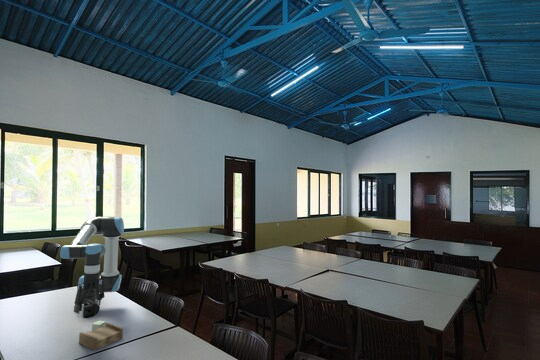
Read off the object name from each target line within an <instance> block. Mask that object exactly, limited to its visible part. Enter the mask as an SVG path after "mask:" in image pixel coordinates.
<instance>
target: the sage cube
mask: <svg viewBox="0 0 540 360" xmlns="http://www.w3.org/2000/svg"><path fill="white" fill-rule="evenodd" d="M106 323H107V321H105V320H98V321H95V322H93V323H92V324H91V331H93V330H95V329H98V328H101V327H103V326H106Z"/></svg>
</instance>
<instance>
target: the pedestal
mask: <svg viewBox="0 0 540 360" xmlns="http://www.w3.org/2000/svg"><path fill="white" fill-rule="evenodd" d="M123 331H124V327H121V326H118V325H115V324H113V323H110V322H106V326H103V327H101V328H98V329H95V330H93V331H92V330H91V331H88V332H83V331H81V332H79V337H78V338H79V339H78V344H80V345H83V346H85V347H87V348H89V349H91V350H93V351H96V350H98V349H100V348H103V347H105V346H108V345H110V344H112V343H114V342H117V341H119V340H121V339H123V334H124V332H123Z"/></svg>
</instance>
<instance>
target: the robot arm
mask: <svg viewBox="0 0 540 360" xmlns="http://www.w3.org/2000/svg"><path fill="white" fill-rule="evenodd" d="M124 232H125V224H124V219H123V218H122V217H120V216H96V217H92V218H90V219H88V220H86V221H85V222H84V223H83V224H82V225H81V226H80V231H78V233H77V234H76V236H75V237H74V239H73V240H72V241H71V242H70V243H69V245H68V244H67V245H65V244H64V245H62V246H61V249H60V252H59V254H60V255H59V256H60V258H61V259H64V260H65V259H68V260H72V259H73V260H74V259H75V260H76V259H84V274H83V275H81V276H80V277H79V278H78V283H77V286H76V288H77V290H76V294H75V300H74V305H73V311H74V312H76V313H78V317H80V318H83V313H84V304H83V303H84V302H87V300H91V301H93V302H94V303H96V304H98V305H99V306H101V302H102V300H103V299H104V298H105V293H115V292H117V291H119V290H120V286H121V283H122V278H123V277H122V276H123V275H122V274H120V271H119V270H118V263H119V262H118V261H119V260H118V259H119V239H120V237H121V236H122V234H123V233H124ZM96 234H102V237H103V238H104V244H102V243H90V244H88V242H89V241H90V239H91V238H92V236H93V235H96ZM103 256H104V257H103ZM102 257H103V259H104V260H103V272H100V270H101V258H102ZM100 273H101V274H100Z"/></svg>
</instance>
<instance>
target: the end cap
mask: <svg viewBox="0 0 540 360" xmlns="http://www.w3.org/2000/svg"><path fill="white" fill-rule="evenodd" d="M83 304H84V313H83V317H82V318H83V319H84V320H85V319H91V318H94V317H95V316H96V315H97V314H99V312H100V309H101V305H98V304H96V303H94V302H93V301H91V300H87V302H84V303H83Z"/></svg>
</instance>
